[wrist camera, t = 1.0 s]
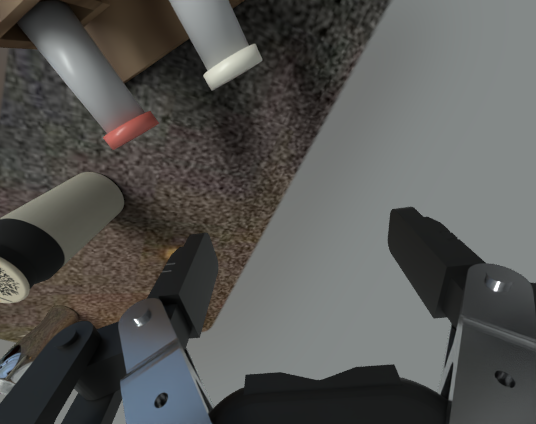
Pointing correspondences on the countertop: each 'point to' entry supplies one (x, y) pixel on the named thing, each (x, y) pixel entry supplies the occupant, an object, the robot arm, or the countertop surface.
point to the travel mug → (53, 231)
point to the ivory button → (217, 39)
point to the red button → (86, 71)
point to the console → (111, 29)
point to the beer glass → (33, 346)
